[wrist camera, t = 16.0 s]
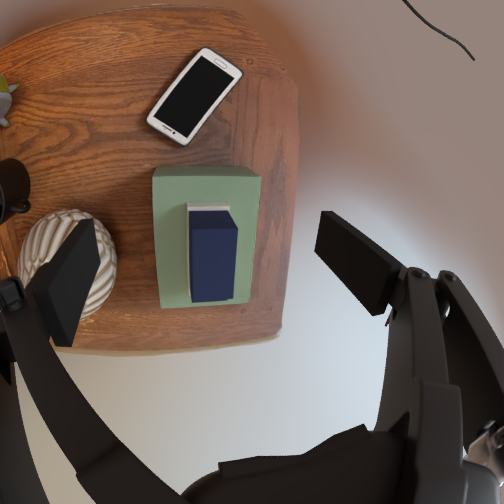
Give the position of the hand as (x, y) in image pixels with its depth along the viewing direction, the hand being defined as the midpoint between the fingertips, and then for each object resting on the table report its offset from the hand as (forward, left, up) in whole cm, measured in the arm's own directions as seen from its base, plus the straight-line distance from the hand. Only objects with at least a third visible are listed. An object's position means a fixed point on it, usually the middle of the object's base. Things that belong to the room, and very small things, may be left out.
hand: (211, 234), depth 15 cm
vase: (+13, +18, -28) cm, 36 cm away
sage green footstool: (-6, +9, -28) cm, 30 cm away
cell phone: (+3, -10, -28) cm, 30 cm away
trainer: (-6, +9, -20) cm, 23 cm away
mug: (+28, +12, -28) cm, 42 cm away
